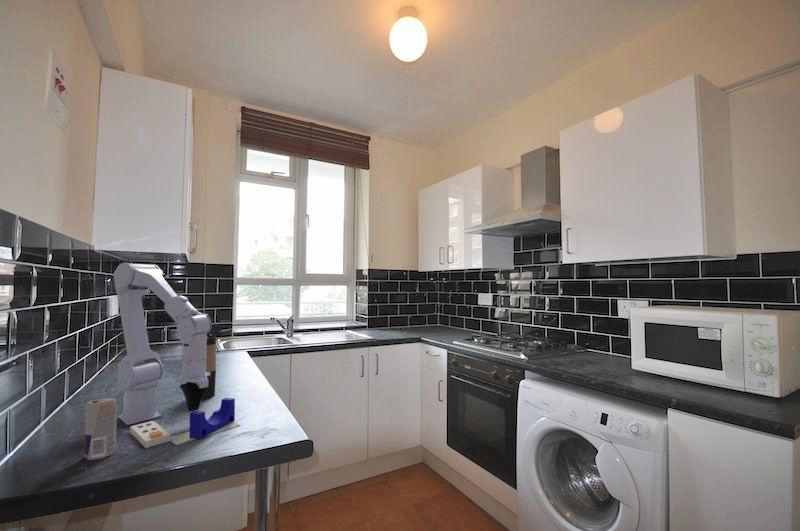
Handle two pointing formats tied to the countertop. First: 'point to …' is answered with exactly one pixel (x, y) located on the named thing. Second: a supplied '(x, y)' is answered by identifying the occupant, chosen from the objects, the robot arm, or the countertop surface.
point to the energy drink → (100, 428)
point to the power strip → (150, 434)
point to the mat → (185, 438)
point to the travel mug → (210, 366)
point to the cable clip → (212, 419)
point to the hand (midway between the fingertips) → (193, 410)
